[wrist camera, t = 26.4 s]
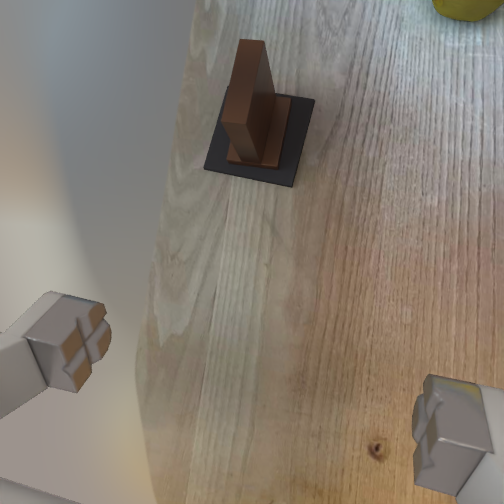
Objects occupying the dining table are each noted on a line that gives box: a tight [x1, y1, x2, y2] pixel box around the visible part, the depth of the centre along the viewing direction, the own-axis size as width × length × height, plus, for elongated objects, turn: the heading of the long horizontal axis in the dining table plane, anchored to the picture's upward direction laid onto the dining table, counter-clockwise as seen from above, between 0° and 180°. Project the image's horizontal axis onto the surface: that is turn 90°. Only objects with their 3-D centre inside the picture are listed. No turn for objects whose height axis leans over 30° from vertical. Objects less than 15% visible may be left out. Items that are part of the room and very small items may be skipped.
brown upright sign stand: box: [221, 39, 292, 170], centre depth 36 cm, size 7×5×9 cm
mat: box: [204, 86, 315, 187], centre depth 41 cm, size 9×9×1 cm
